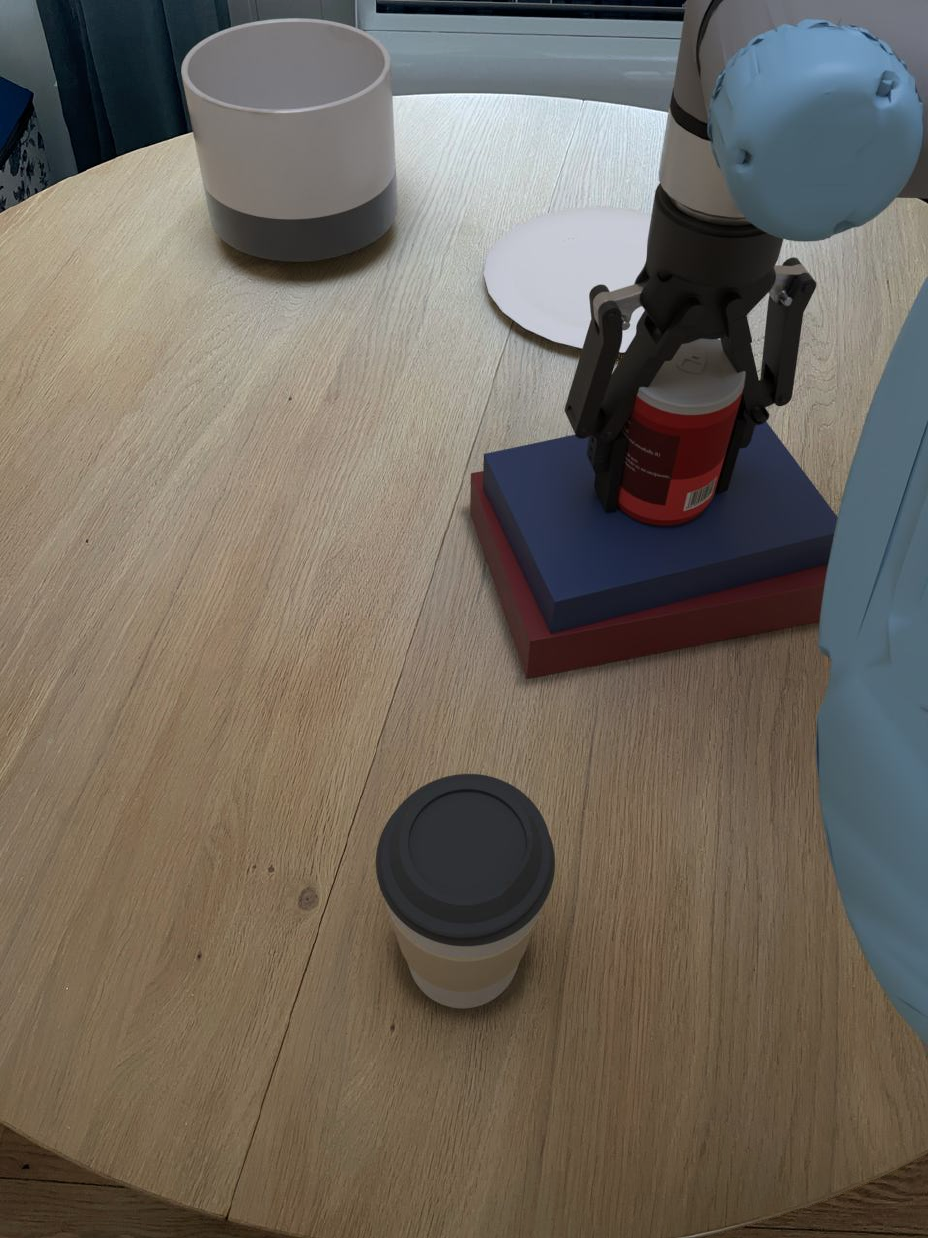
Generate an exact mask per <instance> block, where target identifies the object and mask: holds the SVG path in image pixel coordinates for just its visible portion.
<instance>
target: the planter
mask: <svg viewBox="0 0 928 1238" xmlns="http://www.w3.org/2000/svg"><path fill="white" fill-rule="evenodd" d="M180 68H181V70H180V73H181V80H182V85H183V90H184V94H185V100H186V104H187V110H188V113H189V114H188V115H189V120H190V125H191V129H192V135H193V139H194V144H195V149H196V155H197V160H198V165H199V170H200V175H201V179H202V186H203V191H204V195H205V201H206V206H207V209H208V210H207V211H208V217H209V220H210V224H211V226H212V228H213V230H214V232H215V233H216V234H217V236H218V237H219V238H220V239H221V240H222V241H223V242H224V243H226V244H227V245H229V246H230V247H232V248H234V249H236V250H238V251H240V252H242V253H244V254H246V255H247V254H248V255H250V256H253V257H256V258H260V259H265V260H270V261H280V262H293V263H294V262H297V263H298V262H313V261H315V262H316V261H321V260H322V261H323V260H327V259H332V258H337V257H342V256H344V255H347V254H351V253H354V252H356V251H359V250H360V249H363V248H365V247H367V246H369V245H370V244H372V243H374V242H376V241H377V240H378V239H379V238H381V237H383V235H384V234H385V233H386V232H387V231H389V229H390V228H391V226H392V225H393V223H394V222H395V219H396V217H397V214H398V185H397V184H398V183H397V164H396V162H397V161H396V141H395V139H396V138H395V117H394V97H393V94H394V93H393V76H392V74H393V73H392V59H391V55H390V52H389V50H388V49H387V47H386V46H385V45H384V44H383V43H382V42H381V41H380V40H379V39H378V38H376V37H375V36H374V35H372V34H370V33H369V32H366V31H364V30H362V29H361V28H358V27H355V26H352V25H349V24H345V23H341V22H337V21H331V20H326V19H320V18H319V19H318V18H317V19H316V18H306V17H305V18H301V17H292V18H291V17H289V18H288V17H287V18H271V19H263V20H258V21H252V22H246V23H243V24H239V25H238V24H237V25H235V26H231V27H228V28H226V29H223V30H220V31H218V32H216V33H213V34H211V35H210V36H207V37H206V38H204V39H203V40H201V41H199V42H198V43H197V44H195V45H194V46H193V47H192V48H191V49H190V50H189V51H188V52H187V54H186V55H185V57H184V59H183V60H182V63H181V67H180Z"/></svg>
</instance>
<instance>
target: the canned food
mask: <svg viewBox="0 0 928 1238" xmlns="http://www.w3.org/2000/svg"><path fill="white" fill-rule="evenodd" d="M745 374H746V372H745V371H742V372H740V373H737V372H736V370H735V369H734V367H733V366H732V364H731V363H730V361H729V359H728V358H727V356H726V354H725V353H724V351H723V347H722V343H721V340H720V338H719V339H713V340H712V339H698V340H696V341H693V342H690V343H686V344H682V345H681V346H680V348H679V349H678V351H677V353H676V354H675V356H674V357H673V359H672V360H671V361H665V362H664V363H663V365H662V367H661V368H660V370H659V371H658V373H657V374H656V376H655V378H654V379H653V381H652V382H651V384H650V385H649V387H648V388H647V387H640V388H639V391H638V394H637V397H636V402H635V407H634V410H633V412H632V414H631V415H630V417H629V418H628V420H627V421H626V423H625V425H624V426H623V428H622V429H621V430H622V431H623V433H624V435H625V437H626V439H627V441H628V442H627V448H626V454H625V459H624V465H623V471H622V477H621V482H620V488H619V494H618V500H617V506H618V507H619V508H620V509H621V510H622V511H623V512H624V513H626V514H627V515H629V516H630V517H632V518H634V519H636V520H638V521H640V522H644V523H647V524H651V525H658V526H671V525H678V524H682V523H685V522H688V521H690V520H692V519H694V518H696V517H697V516H698V515H699V514H700V513H702V512H703V510H704V509H705V508H706V506H707V505H708V504H709V502H710V501H711V500H712V498H713V495H714V493H715V490H716V486H717V482H718V479H719V475H720V472H721V468H722V465H723V461H724V458H725V454H726V451H727V447H728V443H729V440H730V436H731V433H732V429H733V426H734V422H735V419H736V415H737V411H738V408H739V404H740V401H741V396H742V392H743V389H744V382H745Z"/></svg>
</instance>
